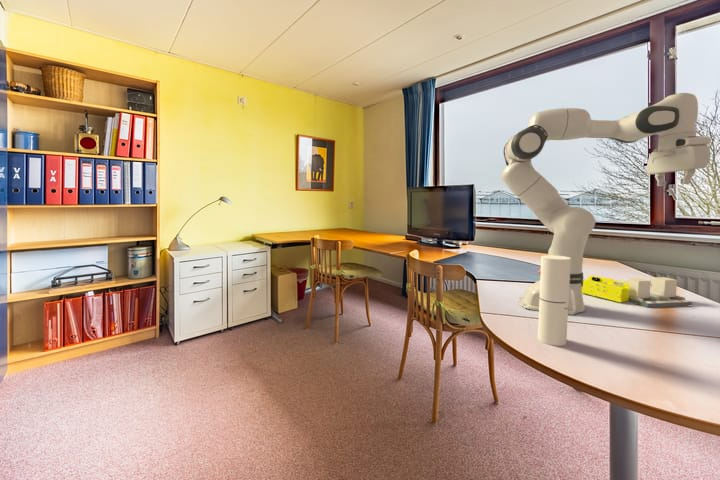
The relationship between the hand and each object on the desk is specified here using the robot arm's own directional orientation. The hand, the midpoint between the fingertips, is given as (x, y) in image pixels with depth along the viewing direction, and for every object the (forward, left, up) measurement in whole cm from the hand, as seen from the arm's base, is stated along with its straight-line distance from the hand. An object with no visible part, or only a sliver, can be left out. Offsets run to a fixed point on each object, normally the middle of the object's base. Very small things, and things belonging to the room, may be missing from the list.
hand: (672, 185), depth 104 cm
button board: (+4, +14, -46) cm, 48 cm away
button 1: (-1, +13, -44) cm, 46 cm away
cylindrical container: (-45, -35, -46) cm, 73 cm away
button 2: (+9, +17, -44) cm, 48 cm away
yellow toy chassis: (-12, +16, -46) cm, 50 cm away
